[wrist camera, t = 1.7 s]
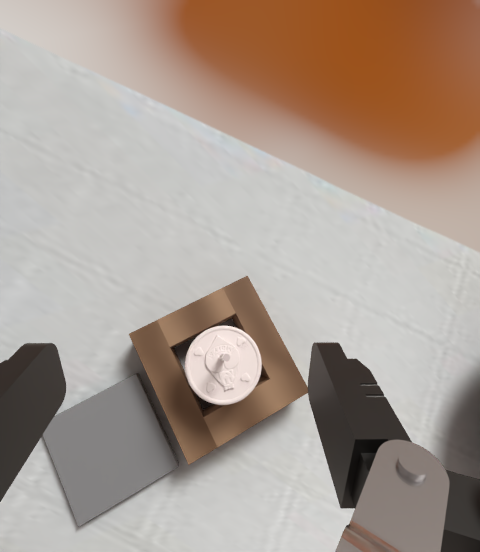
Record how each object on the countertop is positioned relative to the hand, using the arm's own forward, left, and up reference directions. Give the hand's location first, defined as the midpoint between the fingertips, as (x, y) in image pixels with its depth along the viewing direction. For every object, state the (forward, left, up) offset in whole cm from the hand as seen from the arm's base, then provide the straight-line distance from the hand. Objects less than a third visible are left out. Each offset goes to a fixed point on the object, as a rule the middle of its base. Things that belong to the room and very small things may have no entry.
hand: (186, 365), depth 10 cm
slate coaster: (-11, -3, -26) cm, 29 cm away
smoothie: (+2, -1, -27) cm, 27 cm away
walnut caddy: (+2, -1, -26) cm, 27 cm away
